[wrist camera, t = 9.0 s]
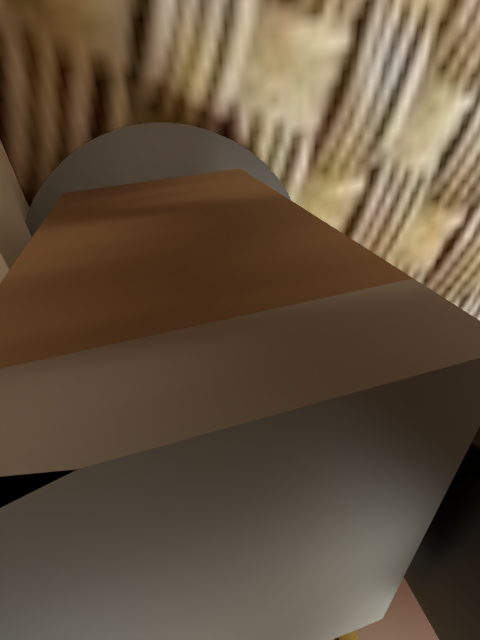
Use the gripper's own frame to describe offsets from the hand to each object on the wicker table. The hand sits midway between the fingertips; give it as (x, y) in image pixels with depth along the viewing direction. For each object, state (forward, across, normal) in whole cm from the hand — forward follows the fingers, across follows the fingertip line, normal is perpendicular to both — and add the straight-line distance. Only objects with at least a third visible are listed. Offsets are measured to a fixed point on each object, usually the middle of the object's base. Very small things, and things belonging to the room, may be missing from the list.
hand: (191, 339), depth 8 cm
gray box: (+2, 0, 0) cm, 3 cm away
